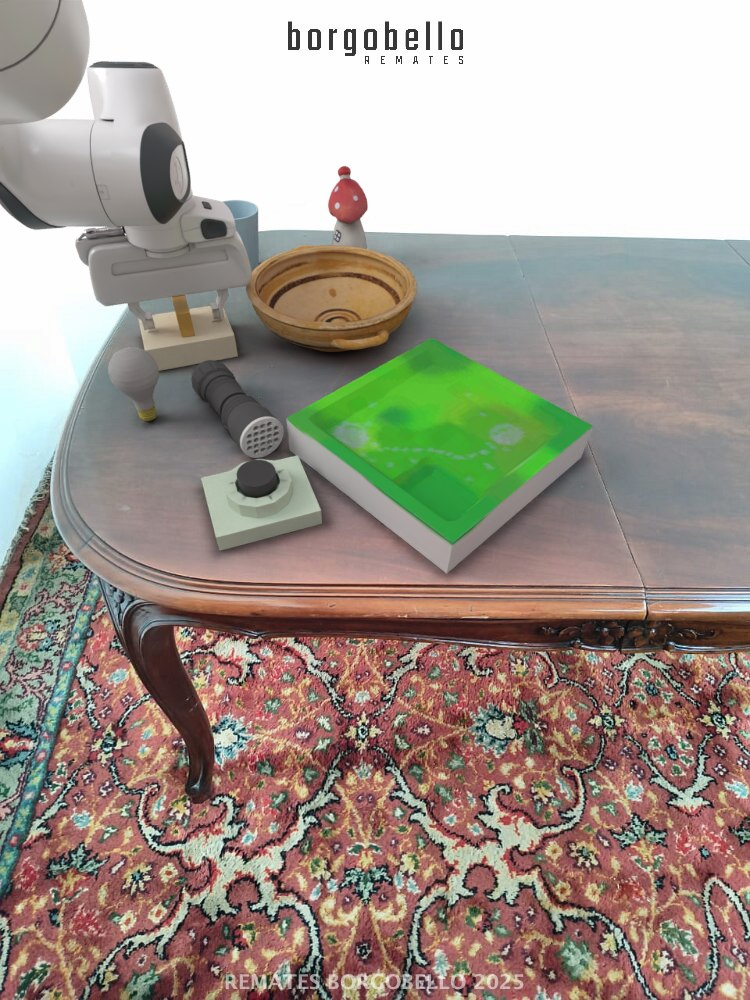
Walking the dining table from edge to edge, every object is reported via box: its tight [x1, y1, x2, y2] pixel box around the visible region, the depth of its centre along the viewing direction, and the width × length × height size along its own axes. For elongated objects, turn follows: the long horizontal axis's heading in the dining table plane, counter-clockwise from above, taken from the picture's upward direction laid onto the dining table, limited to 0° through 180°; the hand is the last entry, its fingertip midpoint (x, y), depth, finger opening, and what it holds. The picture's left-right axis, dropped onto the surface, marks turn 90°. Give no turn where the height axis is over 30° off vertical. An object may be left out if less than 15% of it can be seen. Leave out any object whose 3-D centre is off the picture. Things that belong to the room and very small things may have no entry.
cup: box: [222, 199, 260, 272], centre depth 98 cm, size 8×8×10 cm
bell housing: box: [200, 455, 323, 552], centre depth 63 cm, size 11×9×4 cm
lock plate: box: [137, 305, 239, 372], centre depth 84 cm, size 12×9×4 cm
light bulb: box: [107, 346, 160, 422], centre depth 71 cm, size 5×6×10 cm
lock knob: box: [171, 295, 195, 337], centre depth 81 cm, size 6×2×4 cm, turn 20°
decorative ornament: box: [327, 165, 369, 249], centre depth 99 cm, size 9×7×15 cm
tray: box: [285, 337, 594, 575], centre depth 69 cm, size 25×25×5 cm
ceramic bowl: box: [245, 244, 418, 353], centre depth 86 cm, size 30×24×8 cm
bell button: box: [237, 459, 277, 498], centre depth 61 cm, size 4×4×2 cm
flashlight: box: [190, 360, 284, 459], centre depth 72 cm, size 15×5×5 cm, turn 36°
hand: (184, 321), depth 82 cm, fingers open, 8 cm apart
